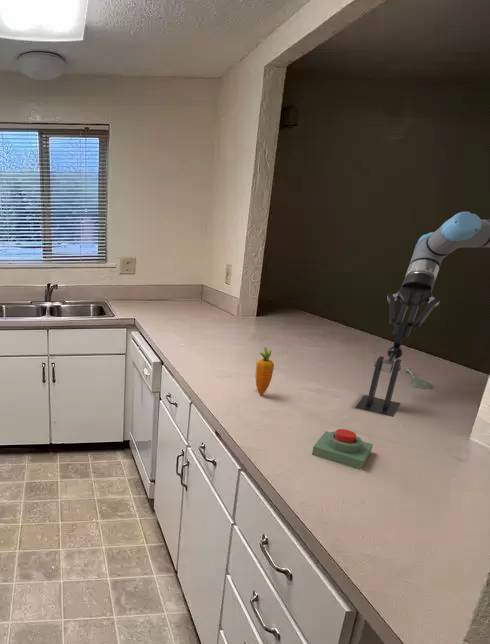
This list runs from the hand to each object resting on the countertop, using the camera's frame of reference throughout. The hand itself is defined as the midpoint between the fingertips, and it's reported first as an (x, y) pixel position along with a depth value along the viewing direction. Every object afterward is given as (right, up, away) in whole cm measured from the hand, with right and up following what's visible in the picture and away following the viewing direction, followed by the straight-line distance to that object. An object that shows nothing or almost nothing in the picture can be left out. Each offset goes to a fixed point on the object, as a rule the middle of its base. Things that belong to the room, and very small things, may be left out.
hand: (396, 344), depth 125 cm
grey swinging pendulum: (-3, -6, -2) cm, 7 cm away
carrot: (-36, -15, +9) cm, 40 cm away
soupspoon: (+19, -11, +19) cm, 29 cm away
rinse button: (-31, -24, -26) cm, 46 cm away
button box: (-31, -27, -24) cm, 48 cm away
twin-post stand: (-7, -19, -2) cm, 20 cm away
